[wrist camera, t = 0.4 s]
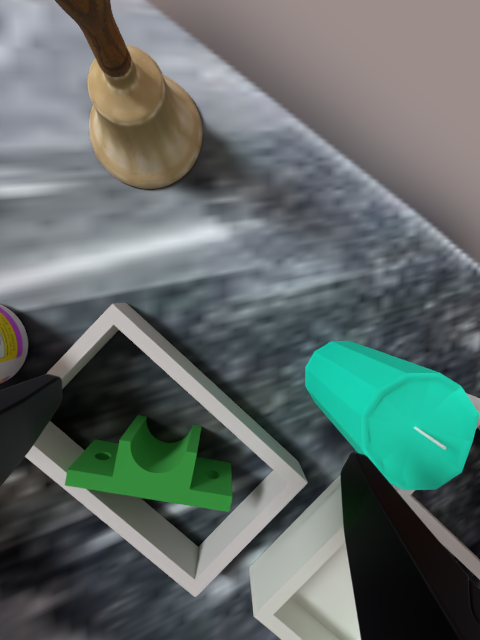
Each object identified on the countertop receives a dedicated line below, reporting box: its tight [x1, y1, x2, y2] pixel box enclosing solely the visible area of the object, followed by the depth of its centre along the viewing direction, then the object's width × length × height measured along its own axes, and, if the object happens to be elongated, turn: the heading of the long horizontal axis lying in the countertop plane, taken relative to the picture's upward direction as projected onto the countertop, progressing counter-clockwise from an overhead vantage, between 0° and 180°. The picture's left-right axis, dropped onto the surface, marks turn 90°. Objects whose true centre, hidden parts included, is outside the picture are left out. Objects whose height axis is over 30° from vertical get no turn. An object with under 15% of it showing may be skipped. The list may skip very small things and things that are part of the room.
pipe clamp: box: [65, 415, 232, 512], centre depth 23 cm, size 11×4×5 cm, turn 78°
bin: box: [249, 474, 361, 640], centre depth 25 cm, size 12×12×4 cm
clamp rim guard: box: [25, 303, 308, 597], centre depth 23 cm, size 12×19×3 cm, turn 46°
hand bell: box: [55, 0, 203, 189], centre depth 15 cm, size 8×8×16 cm
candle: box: [305, 341, 480, 490], centre depth 19 cm, size 6×6×12 cm
